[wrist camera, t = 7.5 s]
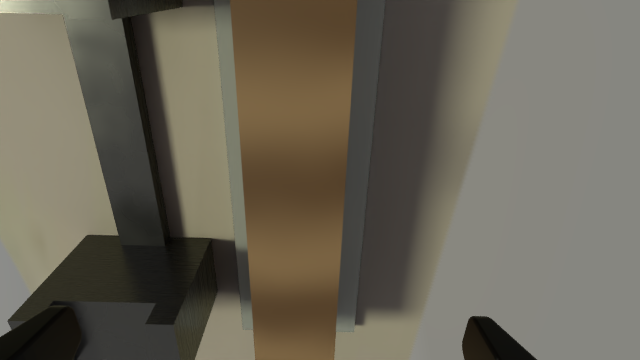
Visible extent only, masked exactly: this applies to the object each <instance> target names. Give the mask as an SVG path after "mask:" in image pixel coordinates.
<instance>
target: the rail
mask: <svg viewBox="0 0 640 360" xmlns="http://www.w3.org/2000/svg"><path fill="white" fill-rule="evenodd" d="M230 8H231V23H232V37H233V51H234V65H235V79H236V93H237V107H238V121H239V135H240V149H241V163H242V177H243V192H244V206H245V220H246V234H247V248H248V262H249V276H250V290H251V304H252V318H253V332H254V346H255V360H334V352H335V337H336V321H337V306H338V290H339V275H340V260H341V244H342V229H343V214H344V198H345V183H346V168H347V152H348V137H349V122H350V106H351V91H352V76H353V60H354V45H355V30H356V14H357V0H230Z"/></svg>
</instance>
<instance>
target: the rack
mask: <svg viewBox="0 0 640 360" xmlns="http://www.w3.org/2000/svg"><path fill="white" fill-rule="evenodd" d="M180 7H182V0H0V13H31V14H63V18H64V22H65V26H66V30H67V34H68V38H69V42H70V46H71V50H72V54H73V57H74V61H75V65H76V69H77V73H78V77H79V81H80V85H81V89H82V93H83V97H84V101H85V105H86V109H87V113H88V117H89V120H90V124H91V128H92V132H93V136H94V140H95V144H96V148H97V152H98V156H99V160H100V164H101V168H102V172H103V176H104V180H105V183H106V187H107V191H108V195H109V199H110V203H111V207H112V211H113V215H114V219H115V223H116V227H117V231H118V235H119V236H93V235H87V236H86V237H85V238H84V239H83V240H82V241H81V242H80V243H79V244H78V245H77V246H76V248H75V249H74V250H73V251H72V252H71V253H70V254H69V255H68V256H67V257H66V258H65V259H64V260H63V262H62V263H61V264H60V265H59V266H58V267H57V268H56V269H55V270H54V271H53V272H52V273H51V274H50V276H49V277H48V278H47V279H46V280H45V281H44V282H43V283H42V284H41V285H40V286H39V287H38V288H37V290H36V291H35V292H34V293H33V294H32V295H31V296H30V297H29V298H28V299H27V301H25V303H24V304H23V305H22V306H21V307H20V308H19V309H18V310H17V311H16V312H15V313H14V314H13V315H12V317H11V318H10V319H9V320H8V323H9V325H10V327H11V329H14V328H16V327H17V326H19V325H21V324H22V323H24V322H25V321H27V320H29V319H30V318H32V317H33V316H35V315H37V314H38V313H40V312H42V311H43V310H45V309H46V308H48V307H50V306H71V307H72V308H73V309H74V312H75V314H76V317H77V320H78V323H79V325H80V328H81V333H82V336H81V341H80V344H79V346H78V349H77V351H76V353H75V356H74V358H73V360H195V357H196V354H197V351H198V348H199V345H200V342H201V339H202V336H203V333H204V330H205V327H206V324H207V322H208V319H209V316H210V313H211V310H212V307H213V304H214V301H215V298H216V295H217V284H216V276H215V268H214V260H213V252H212V244H211V239H207V238H170V234H169V228H168V223H167V217H166V212H165V206H164V201H163V195H162V189H161V184H160V178H159V173H158V167H157V162H156V156H155V151H154V145H153V140H152V134H151V129H150V123H149V118H148V112H147V107H146V101H145V96H144V90H143V85H142V79H141V73H140V68H139V62H138V57H137V51H136V46H135V40H134V35H133V29H132V24H131V18H130V17H131V16H136V15H142V14H147V13H152V12H158V11H163V10H169V9H174V8H180Z"/></svg>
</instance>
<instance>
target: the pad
mask: <svg viewBox="0 0 640 360" xmlns="http://www.w3.org/2000/svg"><path fill="white" fill-rule="evenodd" d="M385 1H386V0H357V14H356V30H355V45H354V60H353V76H352V91H351V106H350V122H349V137H348V152H347V168H346V183H345V198H344V214H343V229H342V244H341V260H340V275H339V290H338V306H337V321H336V332H354V327H355V317H356V306H357V296H358V285H359V275H360V264H361V253H362V243H363V232H364V222H365V211H366V201H367V190H368V180H369V169H370V159H371V148H372V138H373V127H374V117H375V106H376V95H377V85H378V74H379V64H380V53H381V43H382V32H383V22H384V11H385ZM214 9H215V21H216V32H217V43H218V54H219V66H220V77H221V88H222V100H223V111H224V122H225V133H226V145H227V156H228V167H229V179H230V190H231V201H232V212H233V224H234V235H235V246H236V258H237V269H238V280H239V291H240V303H241V314H242V325H243V330H253V318H252V304H251V290H250V276H249V262H248V248H247V234H246V220H245V206H244V192H243V177H242V163H241V149H240V135H239V121H238V107H237V93H236V79H235V65H234V51H233V37H232V23H231V8H230V0H214Z"/></svg>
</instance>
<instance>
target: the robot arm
mask: <svg viewBox="0 0 640 360" xmlns="http://www.w3.org/2000/svg"><path fill="white" fill-rule="evenodd" d="M81 336H82V333H81V328H80V325H79V323H78V320H77V317H76V314H75V312H74V309H73V308H72V307H71V306H50V307H48V308H46V309H45V310H43V311H42V312H40V313H38V314H37V315H35V316H33V317H32V318H30V319H29V320H27V321H25V322H24V323H22V324H21V325H19V326H17V327H16V328H14V329H12V330H11V331H9V332H8V333H6V334H4V335H3V336H1V337H0V360H73V358H74V356H75V353H76V351H77V349H78V346H79V344H80V341H81ZM462 350H463V355H464V359H465V360H537V359H536V358H534V357H533V356H532V355H531V354H530V353H529V352H528V351H526V350H525V349H524V348H523V347H522V346H521V345H520V344H519V343H518V342H517V341H516V340H514V339H513V338H512V337H511V336H510V335H509V334H508V333H507V332H506V331H504V330H503V329H502V328H501V327H500V326H499V325H497V323H496V322H494V321H493V320H492V319H491V318H489V317H485V316H472V317H470V319H469V320H468V323H467V327H466V330H465V334H464V338H463V341H462Z"/></svg>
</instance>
